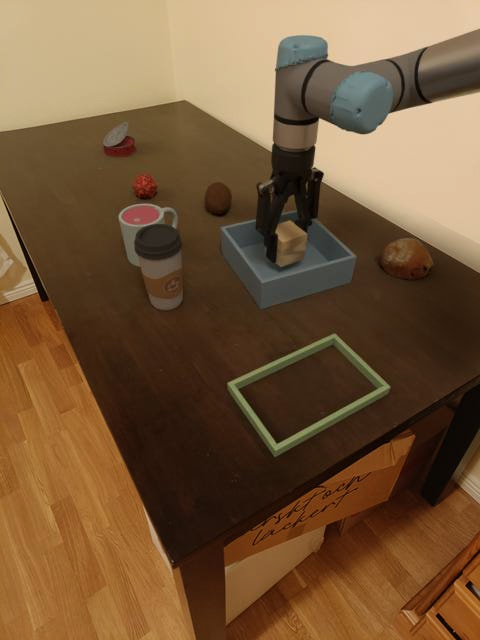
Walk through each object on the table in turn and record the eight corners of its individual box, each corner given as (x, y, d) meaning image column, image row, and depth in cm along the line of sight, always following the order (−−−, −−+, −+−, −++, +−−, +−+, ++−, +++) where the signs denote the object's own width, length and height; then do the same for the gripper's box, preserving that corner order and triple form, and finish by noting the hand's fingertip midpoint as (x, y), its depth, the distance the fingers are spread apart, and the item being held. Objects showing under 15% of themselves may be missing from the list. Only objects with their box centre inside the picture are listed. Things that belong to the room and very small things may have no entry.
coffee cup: (160, 321, 80) (148, 254, 69) (137, 298, 84) (123, 233, 74) (196, 302, 83) (190, 236, 73) (173, 281, 88) (164, 217, 78)
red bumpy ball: (158, 199, 118) (154, 202, 110) (134, 196, 117) (128, 198, 110) (160, 175, 116) (156, 176, 108) (135, 171, 115) (129, 172, 108)
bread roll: (401, 264, 98) (396, 231, 95) (444, 267, 90) (440, 231, 87) (374, 281, 94) (368, 247, 91) (416, 287, 86) (412, 249, 82)
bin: (351, 282, 88) (357, 256, 83) (260, 309, 82) (261, 283, 78) (301, 232, 102) (304, 207, 97) (221, 252, 96) (220, 227, 91)
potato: (225, 197, 114) (225, 171, 109) (237, 216, 107) (237, 190, 102) (200, 201, 113) (198, 175, 108) (210, 220, 105) (209, 194, 101)
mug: (144, 272, 90) (136, 231, 83) (119, 254, 95) (109, 214, 88) (193, 246, 97) (189, 206, 91) (167, 230, 102) (162, 192, 95)
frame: (333, 340, 76) (334, 333, 75) (388, 393, 68) (391, 386, 66) (227, 389, 68) (227, 382, 67) (274, 457, 60) (275, 451, 59)
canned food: (132, 169, 137) (123, 148, 127) (102, 163, 138) (92, 141, 128) (143, 141, 140) (136, 118, 130) (114, 135, 141) (105, 112, 131)
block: (287, 244, 93) (290, 220, 89) (304, 258, 89) (307, 233, 85) (264, 252, 91) (265, 228, 86) (280, 267, 87) (282, 242, 83)
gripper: (323, 126, 79) (309, 233, 95) (235, 147, 72) (236, 259, 88) (350, 140, 75) (331, 250, 91) (259, 163, 68) (255, 278, 84)
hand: (284, 254), depth 90 cm, fingers closed on block, 6 cm apart
